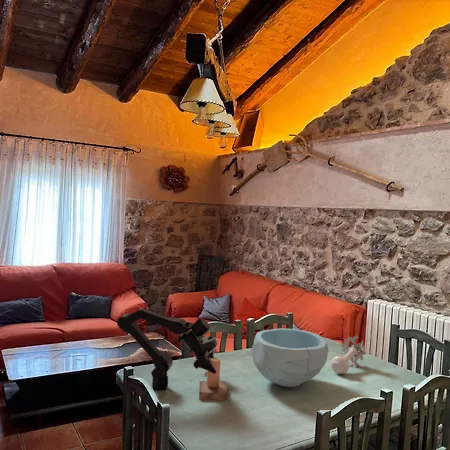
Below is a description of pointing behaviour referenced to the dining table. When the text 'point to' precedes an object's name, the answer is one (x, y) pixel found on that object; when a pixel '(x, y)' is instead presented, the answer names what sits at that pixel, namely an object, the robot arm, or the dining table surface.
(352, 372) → the dining table surface
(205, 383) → the walnut plinth
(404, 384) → the dining table surface
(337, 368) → the flower vase
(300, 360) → the bowl
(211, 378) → the terracotta cylinder
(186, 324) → the robot arm
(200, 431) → the dining table surface
